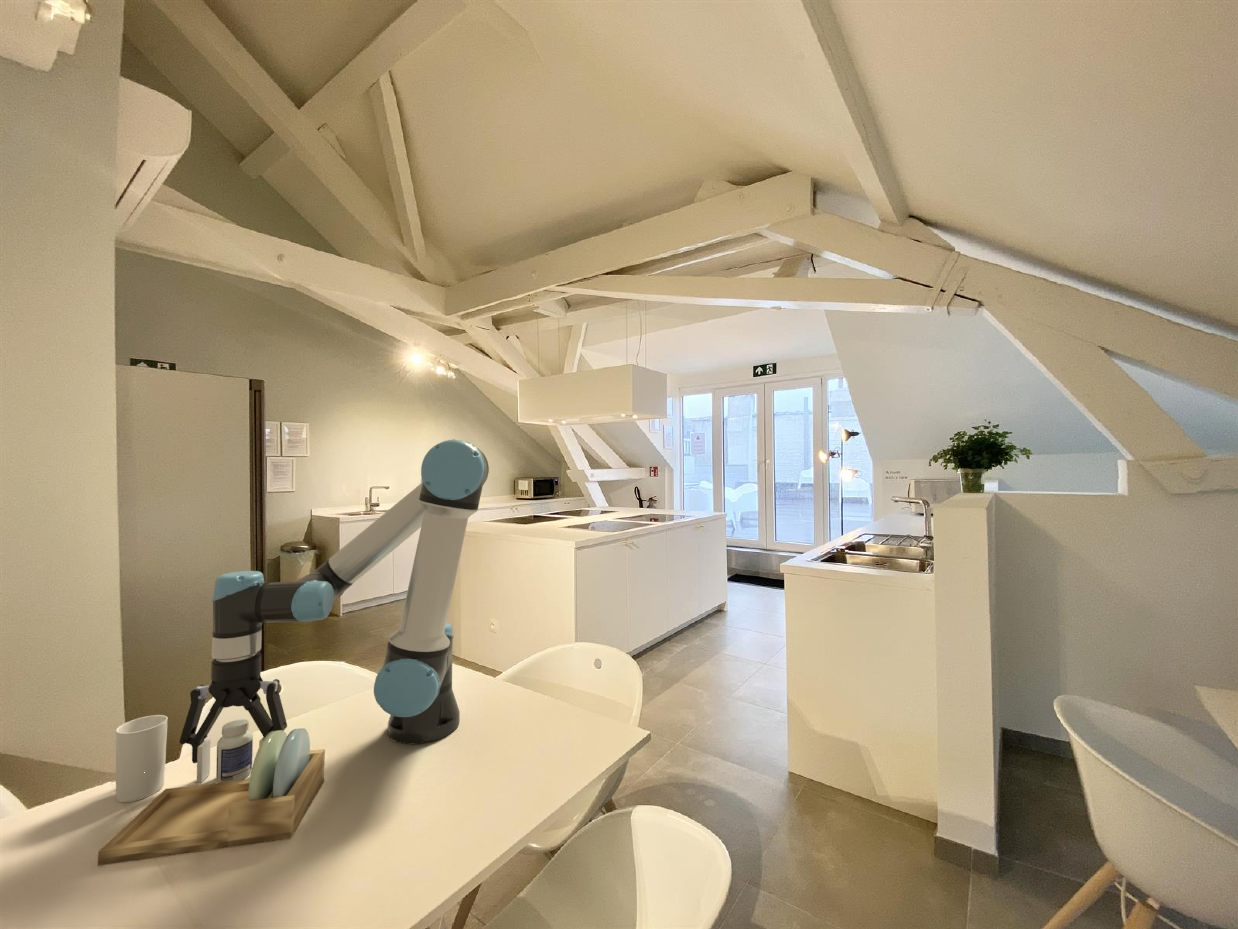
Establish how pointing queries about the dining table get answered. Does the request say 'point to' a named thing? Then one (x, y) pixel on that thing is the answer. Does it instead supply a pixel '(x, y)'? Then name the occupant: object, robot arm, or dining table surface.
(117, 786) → the mug
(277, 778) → the plate blue
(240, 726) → the pill bottle
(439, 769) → the dining table surface
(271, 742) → the plate sage
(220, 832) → the dish rack
